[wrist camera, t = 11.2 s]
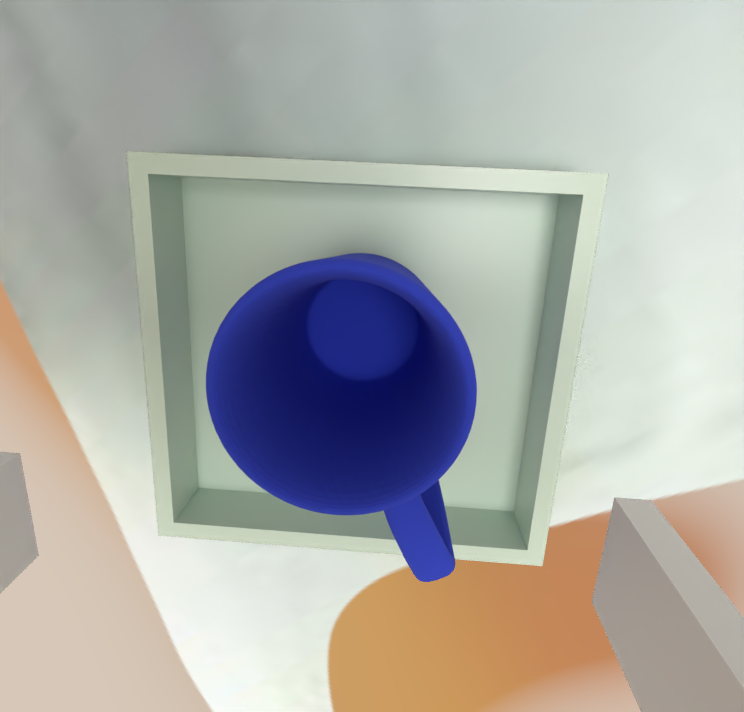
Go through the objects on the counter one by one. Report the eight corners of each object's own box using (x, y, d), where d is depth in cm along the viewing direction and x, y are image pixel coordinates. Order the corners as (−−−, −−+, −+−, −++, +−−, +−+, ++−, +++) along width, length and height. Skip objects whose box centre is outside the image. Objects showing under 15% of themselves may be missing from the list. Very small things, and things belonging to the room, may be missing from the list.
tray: (170, 159, 24) (126, 151, 20) (575, 178, 23) (608, 173, 20) (190, 491, 29) (158, 535, 25) (523, 516, 28) (542, 565, 25)
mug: (357, 487, 28) (331, 638, 18) (250, 280, 25) (152, 330, 15) (503, 432, 26) (560, 564, 17) (408, 205, 23) (410, 209, 14)
